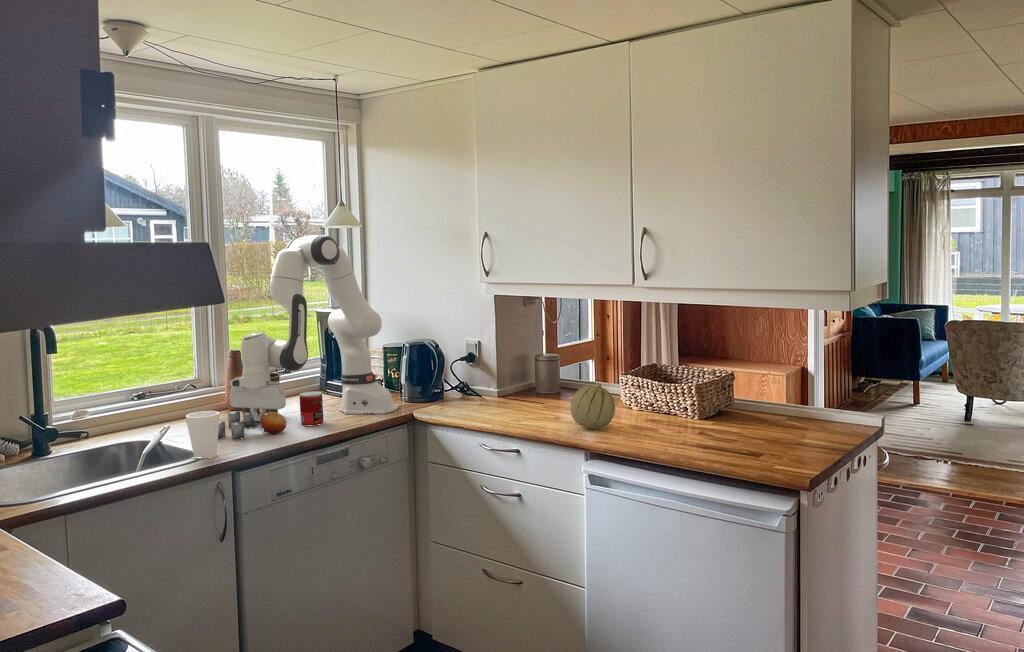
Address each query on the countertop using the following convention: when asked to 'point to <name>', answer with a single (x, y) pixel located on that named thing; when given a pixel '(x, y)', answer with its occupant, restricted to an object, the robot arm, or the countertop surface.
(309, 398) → the canned food
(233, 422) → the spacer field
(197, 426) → the foam cup
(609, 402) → the cantaloupe
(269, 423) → the fruit
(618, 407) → the countertop surface
